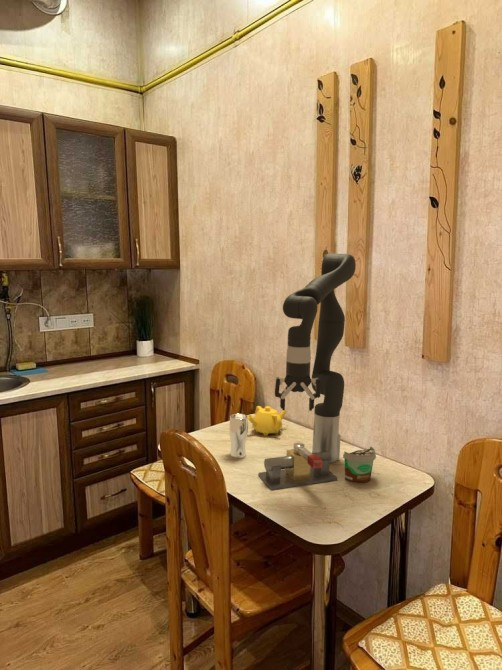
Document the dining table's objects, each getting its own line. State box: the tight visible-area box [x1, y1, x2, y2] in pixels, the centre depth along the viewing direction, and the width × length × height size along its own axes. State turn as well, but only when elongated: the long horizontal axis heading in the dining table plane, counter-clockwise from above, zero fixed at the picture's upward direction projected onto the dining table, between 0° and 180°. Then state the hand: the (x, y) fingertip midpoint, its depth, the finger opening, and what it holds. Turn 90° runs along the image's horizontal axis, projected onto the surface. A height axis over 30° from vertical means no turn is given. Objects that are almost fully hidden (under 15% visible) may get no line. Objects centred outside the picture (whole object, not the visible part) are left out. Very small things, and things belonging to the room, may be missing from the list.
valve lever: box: [293, 442, 322, 468], centre depth 150 cm, size 15×4×3 cm, turn 20°
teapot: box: [247, 405, 287, 437], centre depth 199 cm, size 20×18×11 cm
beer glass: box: [228, 413, 249, 459], centre depth 173 cm, size 7×7×15 cm
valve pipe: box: [257, 449, 338, 491], centre depth 156 cm, size 24×11×9 cm, turn 110°
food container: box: [342, 446, 377, 484], centre depth 155 cm, size 12×6×10 cm, turn 117°
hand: (296, 409), depth 148 cm, fingers open, 8 cm apart
